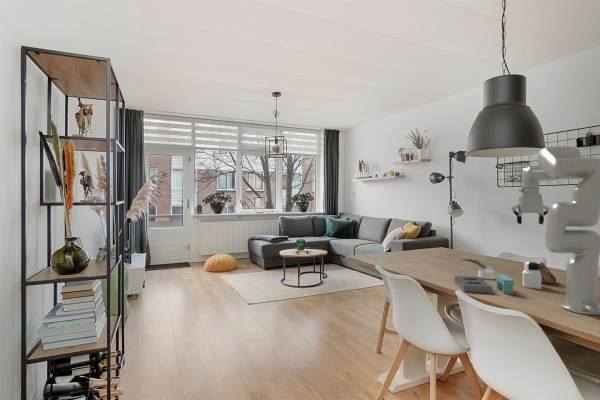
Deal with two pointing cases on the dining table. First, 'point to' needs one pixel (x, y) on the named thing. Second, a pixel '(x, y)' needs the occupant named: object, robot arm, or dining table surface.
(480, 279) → the slot rail
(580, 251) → the robot arm
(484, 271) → the inkwell
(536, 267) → the medicine bottle
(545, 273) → the decorative rock
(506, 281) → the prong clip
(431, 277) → the dining table surface
